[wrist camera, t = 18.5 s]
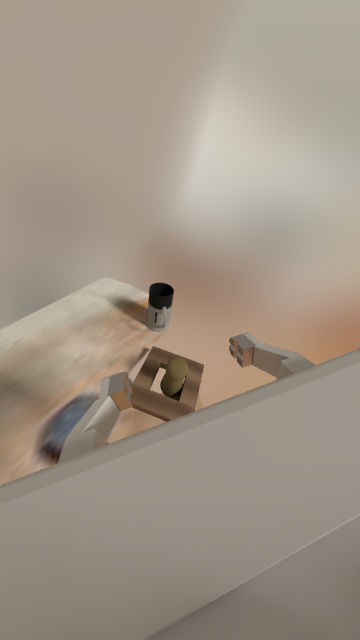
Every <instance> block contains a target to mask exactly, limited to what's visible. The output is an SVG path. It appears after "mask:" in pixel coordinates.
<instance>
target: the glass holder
mask: <svg viewBox="0 0 360 640" xmlns="http://www.w3.org/2000/svg"><path fill="white" fill-rule="evenodd" d="M173 293H174V289H173V288H172V287H171V286H170V285H168V284H165V283H155V284H152V285H151V286H150V290H149V300H148V319H147V321H146V325H147V327H148V328H149V329H150V330H152V331H155V332H163V331H165V330H167V329H168V328H169V326H170V322H169V319H170V314H171V308H172V299H173Z"/></svg>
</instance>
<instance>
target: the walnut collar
mask: <svg viewBox="0 0 360 640" xmlns="http://www.w3.org/2000/svg"><path fill="white" fill-rule="evenodd" d="M175 357H179V358H182V359H184V360H185V361H186V363H187V365H188V373H187V375H186V376H185V381H184V384H183V387H182V391H181V394H180V397H179V401H177V400H174V399H171V398H169V397H166V396H164V395H161V394H159V393H156V392H154V391H151V390H150V388H151V385H152V383H153V381H154V379H155V376H156V374H157V372H158V370H159V367H161V368H164V369H166V365H167V362H168V361H169V360H170V359H172V358H175ZM203 368H204V365H203V364H200V363H198V362H195V361H192V360H190V359H187V358H184V357H181V356H179V355H176V354H173V353H170V352H168V351H165V350H162V349H160V348H157V347H154V346H153V348H152V349H151V351H150V353H149V355H148V357H147V358H146V360H145V362H144V364H143V366H142V368H141V369H140V372H139V373H138V375H137V377H136V379H135V380H134V382H133V384H132V386H133V393H132V394H131V395H132V397H133V408H135V409H138V410H140V411H143V412H145V413H147V414H150V415H152V416H155V417H157V418H160V419H162V420H165V421H167V422H168V421H171V420H173V419H176V418H179V417H181V416H184V415H187V414H189V413H192V412H194V411H195V407H196V402H197V397H198V392H199V387H200V382H201V377H202V373H203Z"/></svg>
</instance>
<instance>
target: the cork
mask: <svg viewBox="0 0 360 640" xmlns="http://www.w3.org/2000/svg"><path fill="white" fill-rule="evenodd" d="M187 373H188V365H187V363H186V361H185V360H184V359H182V358H179V357H175V358H172V359H170V360H169V361H168V362H167V365H166V373H165V375H164V377H163V379H162V381H161V390H162V392H163V393H164V394H165V395H167V396H169V397H174V396H177V395H178V394H179V393H180V392H181V390H182V386H183V379H184V377H185V376H186V375H187Z"/></svg>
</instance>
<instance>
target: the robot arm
mask: <svg viewBox="0 0 360 640" xmlns="http://www.w3.org/2000/svg"><path fill="white" fill-rule="evenodd" d="M229 342H230V343H231V345H230V346H229V347H230V348H229V350H230V353H231V355H232V356H233V357H234V358H236V359H237V362H238V363H239V364H240V366H241V367H242V368H243V367H246V366H249V365H254V366H255V367H258V368H259V369H261V370H263V371H265V372H267V373H269V374H271V375H273V376H275V377H277V380H276V381H273V382H271V383H268V384H265V385H263V386H260V387H258V388H255V389H252V390H250V391H247V392H244V393H242V394H239V395H236V396H234V397H231V398H228V399H226V400H223V401H221V402H218V403H215V404H213V405H210V406H208V407H205V408H202V409H200V410H197V411H194V412H192V413H189V414H187V415H184V416H181V417H179V418H176V419H173V420H171V421H168V422H165V423H163V424H160V425H158V426H155V427H152V428H150V429H147V430H144V431H142V432H139V433H137V434H134V435H131V436H129V437H126V438H123V439H121V440H118V441H116V442H113V443H110V444H109V443H108V442H107V441H106V440H107V438H108V436H109V434H110V432H111V430H112V428H113V426H114V424H115V422H116V420H117V418H118V416H119V414H120V411H122V410H125V409H128V408H130V407H133V397H132V395H131V394H132V393H133V386H132V382H131V380H130V379H129V378H128V374H127V372H122V373H118V374H115V375H112V376H109V377H105V378H104V379H103V380H102V385H101V390H100V394H99V399H97V400H96V401H95V402H94V403H93V405H92V406H91V407H90V408H89V410H88V411H87V412H86V413H85V415H84V416H83V417H82V418H81V420H80V421H79V422H78V424H77V425H76V426H75V427H74V429H73V430H72V431H71V432H70V434H69V435H68V436H67V438H66V441H65V444H64V447H63V450H62V453H61V456H60V459H59V462H58V464H55V465H53V466H50V467H47V468H45V469H42V470H39V471H37V472H34V473H31V474H29V475H26V476H24V477H21V478H18V479H16V480H13V481H10V482H8V483H5V484H3V485H0V640H360V348H359V349H357V350H354V351H352V352H349V353H347V354H344V355H341V356H339V357H336V358H334V359H331V360H328V361H326V362H323V363H321V364H318V365H315V364H313V363H312V362H310V361H309V360H308V359H306V358H305V357H303V356H302V355H301V354H298V353H296V352H292V351H289V350H285V349H282V348H278V347H275V346H272V345H268V344H265V343H264V344H262V343H261V342H260V341H258V340H257V339H256V338H255V337H254V336H252V335H251V334H250V333H248V332H247V333H244V334H241V335H238V336H235V337H232V338H230V339H229Z"/></svg>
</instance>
